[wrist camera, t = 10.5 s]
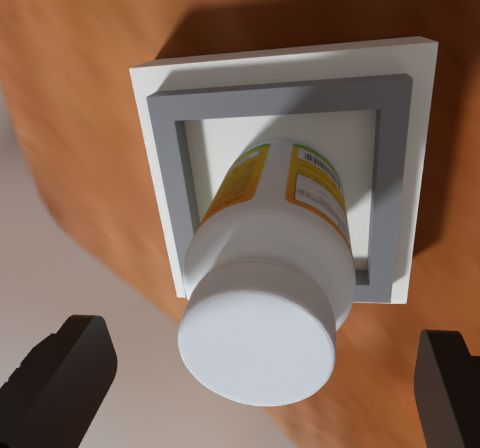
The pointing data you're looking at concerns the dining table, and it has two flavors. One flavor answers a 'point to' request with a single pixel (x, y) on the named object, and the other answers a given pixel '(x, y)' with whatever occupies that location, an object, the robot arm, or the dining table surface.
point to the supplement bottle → (269, 278)
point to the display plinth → (297, 138)
